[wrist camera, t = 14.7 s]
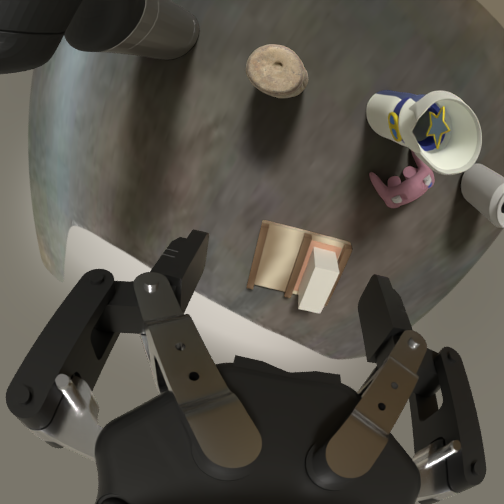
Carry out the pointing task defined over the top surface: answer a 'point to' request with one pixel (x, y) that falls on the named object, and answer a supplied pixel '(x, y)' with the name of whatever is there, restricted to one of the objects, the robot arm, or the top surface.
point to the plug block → (317, 280)
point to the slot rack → (290, 256)
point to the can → (485, 192)
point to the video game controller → (405, 184)
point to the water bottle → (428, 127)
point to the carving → (277, 71)
